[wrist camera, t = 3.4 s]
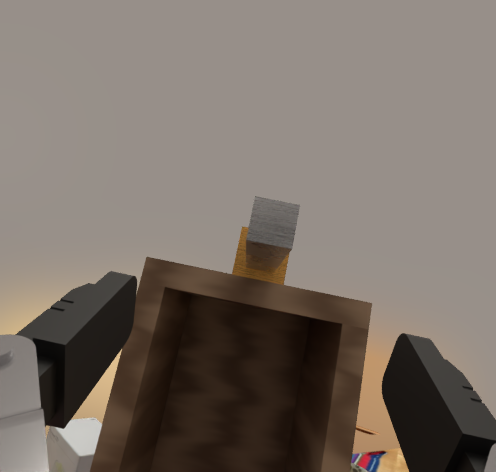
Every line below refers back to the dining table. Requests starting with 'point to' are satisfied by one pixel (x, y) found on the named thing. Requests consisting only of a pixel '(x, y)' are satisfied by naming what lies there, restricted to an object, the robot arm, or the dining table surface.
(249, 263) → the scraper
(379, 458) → the dining table surface
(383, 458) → the dining table surface
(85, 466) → the skincare box
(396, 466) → the dining table surface
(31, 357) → the robot arm
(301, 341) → the walnut shelf
